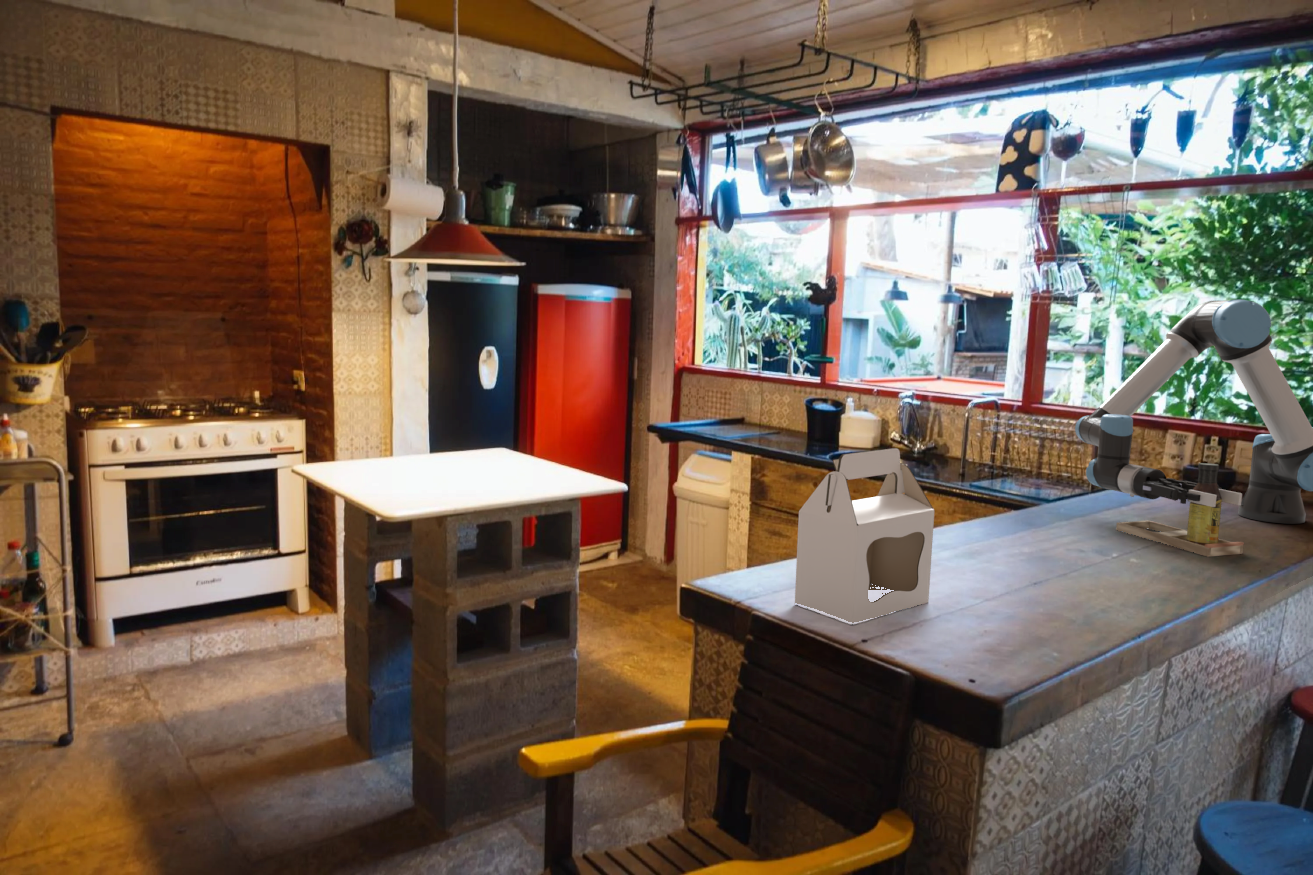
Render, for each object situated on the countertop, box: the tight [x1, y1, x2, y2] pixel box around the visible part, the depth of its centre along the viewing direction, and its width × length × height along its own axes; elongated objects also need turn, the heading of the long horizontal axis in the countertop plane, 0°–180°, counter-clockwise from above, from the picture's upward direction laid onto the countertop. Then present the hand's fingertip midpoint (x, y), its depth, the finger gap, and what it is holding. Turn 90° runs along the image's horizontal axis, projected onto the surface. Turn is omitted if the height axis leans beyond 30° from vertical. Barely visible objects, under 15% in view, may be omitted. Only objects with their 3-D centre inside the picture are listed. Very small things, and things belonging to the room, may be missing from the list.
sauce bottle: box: [1186, 462, 1223, 546], centre depth 208 cm, size 6×6×20 cm
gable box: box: [794, 447, 935, 623], centre depth 161 cm, size 22×13×28 cm, turn 129°
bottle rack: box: [1115, 519, 1245, 557], centre depth 216 cm, size 11×26×3 cm, turn 19°
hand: (1227, 500), depth 203 cm, fingers open, 7 cm apart
